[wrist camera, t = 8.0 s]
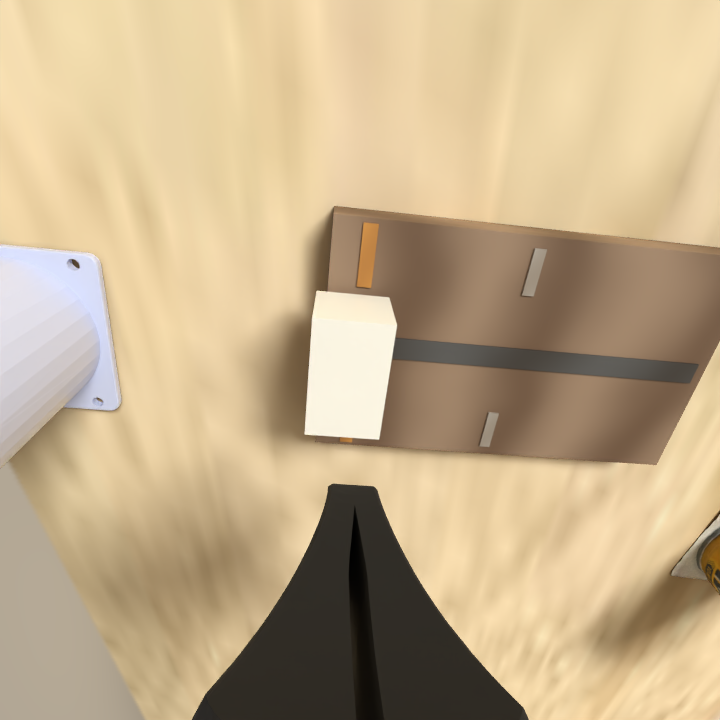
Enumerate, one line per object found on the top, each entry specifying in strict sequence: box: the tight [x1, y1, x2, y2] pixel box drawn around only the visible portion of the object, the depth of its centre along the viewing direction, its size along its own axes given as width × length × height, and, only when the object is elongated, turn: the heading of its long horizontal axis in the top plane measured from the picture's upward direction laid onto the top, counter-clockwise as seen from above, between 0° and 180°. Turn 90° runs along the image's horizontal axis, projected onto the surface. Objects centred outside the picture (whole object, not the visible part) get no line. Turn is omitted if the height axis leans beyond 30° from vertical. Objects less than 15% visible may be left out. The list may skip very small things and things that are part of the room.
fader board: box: [315, 206, 720, 465], centre depth 22 cm, size 18×11×2 cm, turn 84°
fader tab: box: [305, 291, 397, 440], centre depth 18 cm, size 3×5×3 cm, turn 174°
